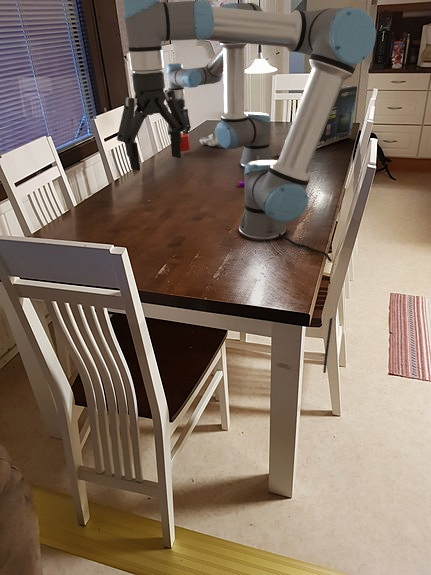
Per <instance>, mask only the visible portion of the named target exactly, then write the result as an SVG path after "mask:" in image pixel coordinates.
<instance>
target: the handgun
mask: <svg viewBox="0 0 431 575" xmlns="http://www.w3.org/2000/svg"><path fill="white" fill-rule="evenodd" d="M237 186H238V187H245V180H243V181H237Z"/></svg>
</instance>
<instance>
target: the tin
mask: <svg viewBox="0 0 431 575" xmlns="http://www.w3.org/2000/svg"><path fill="white" fill-rule="evenodd" d="M190 146H191V145H190V135H189V133H188V134H184V133H183V132H181V144H180V150H181V152H188V151H190V150H191V147H190Z"/></svg>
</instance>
